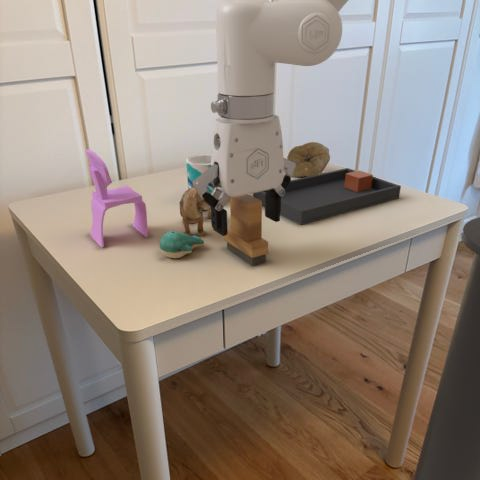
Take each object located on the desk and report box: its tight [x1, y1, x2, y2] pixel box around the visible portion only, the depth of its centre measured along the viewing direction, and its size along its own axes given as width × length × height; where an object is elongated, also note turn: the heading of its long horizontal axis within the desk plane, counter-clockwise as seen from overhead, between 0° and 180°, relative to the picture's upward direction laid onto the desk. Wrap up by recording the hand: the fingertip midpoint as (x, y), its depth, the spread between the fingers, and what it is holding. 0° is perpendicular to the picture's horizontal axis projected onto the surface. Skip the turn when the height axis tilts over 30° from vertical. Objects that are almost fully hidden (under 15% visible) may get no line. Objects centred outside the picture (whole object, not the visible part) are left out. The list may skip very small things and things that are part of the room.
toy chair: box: [85, 148, 149, 249], centre depth 82 cm, size 8×9×15 cm
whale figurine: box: [159, 230, 205, 259], centre depth 80 cm, size 6×7×4 cm
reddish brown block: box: [344, 170, 374, 192], centre depth 104 cm, size 4×4×3 cm
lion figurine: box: [179, 187, 211, 237], centre depth 87 cm, size 15×5×9 cm, turn 3°
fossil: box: [286, 141, 331, 178], centre depth 115 cm, size 9×4×10 cm
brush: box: [224, 194, 269, 267], centre depth 77 cm, size 8×3×10 cm, turn 33°
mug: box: [185, 153, 214, 194], centre depth 101 cm, size 8×12×8 cm
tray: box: [252, 167, 402, 226], centre depth 100 cm, size 26×16×3 cm, turn 123°
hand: (247, 225), depth 76 cm, fingers open, 9 cm apart
